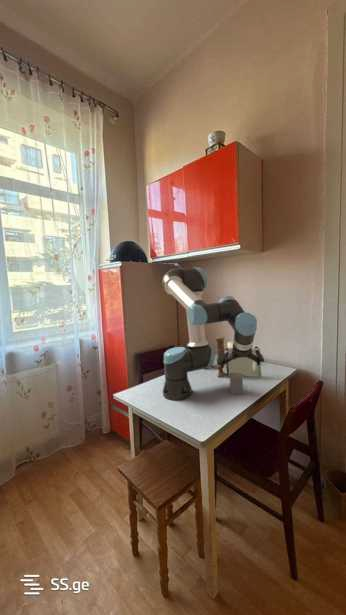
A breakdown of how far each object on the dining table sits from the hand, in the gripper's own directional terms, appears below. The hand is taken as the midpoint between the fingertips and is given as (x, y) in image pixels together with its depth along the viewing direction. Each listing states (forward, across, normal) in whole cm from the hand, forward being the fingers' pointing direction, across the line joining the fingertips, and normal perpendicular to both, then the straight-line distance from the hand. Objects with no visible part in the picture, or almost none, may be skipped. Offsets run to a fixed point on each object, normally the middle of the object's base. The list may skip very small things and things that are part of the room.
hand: (238, 369), depth 115 cm
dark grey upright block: (+18, 0, -3) cm, 18 cm away
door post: (+32, -5, +13) cm, 35 cm away
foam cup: (+50, +7, +32) cm, 60 cm away
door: (+31, +7, +12) cm, 34 cm away
